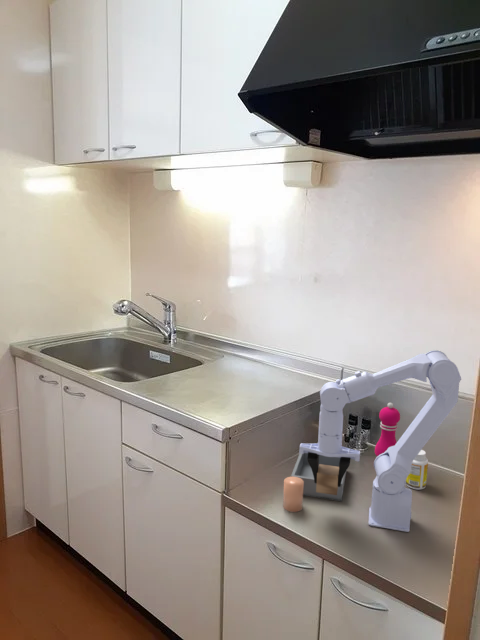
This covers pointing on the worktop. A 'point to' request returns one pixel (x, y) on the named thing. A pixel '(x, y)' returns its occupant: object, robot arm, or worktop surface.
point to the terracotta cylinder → (293, 494)
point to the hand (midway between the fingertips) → (327, 483)
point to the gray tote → (306, 474)
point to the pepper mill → (387, 428)
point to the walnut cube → (327, 479)
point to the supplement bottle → (418, 472)
